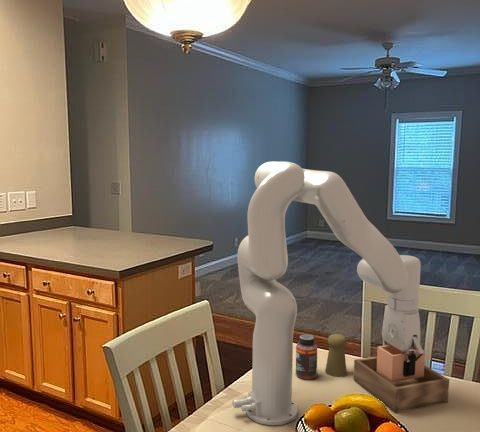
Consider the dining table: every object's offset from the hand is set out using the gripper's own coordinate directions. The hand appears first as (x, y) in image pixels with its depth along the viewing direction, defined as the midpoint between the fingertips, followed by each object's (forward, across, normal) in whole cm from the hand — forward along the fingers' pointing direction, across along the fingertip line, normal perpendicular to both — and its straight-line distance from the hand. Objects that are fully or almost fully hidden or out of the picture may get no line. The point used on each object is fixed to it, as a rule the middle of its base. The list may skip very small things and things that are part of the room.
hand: (400, 369), depth 127 cm
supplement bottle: (+6, -16, -19) cm, 26 cm away
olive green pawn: (+6, -15, -10) cm, 19 cm away
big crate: (+6, 0, 0) cm, 6 cm away
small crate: (+1, 0, 0) cm, 1 cm away
